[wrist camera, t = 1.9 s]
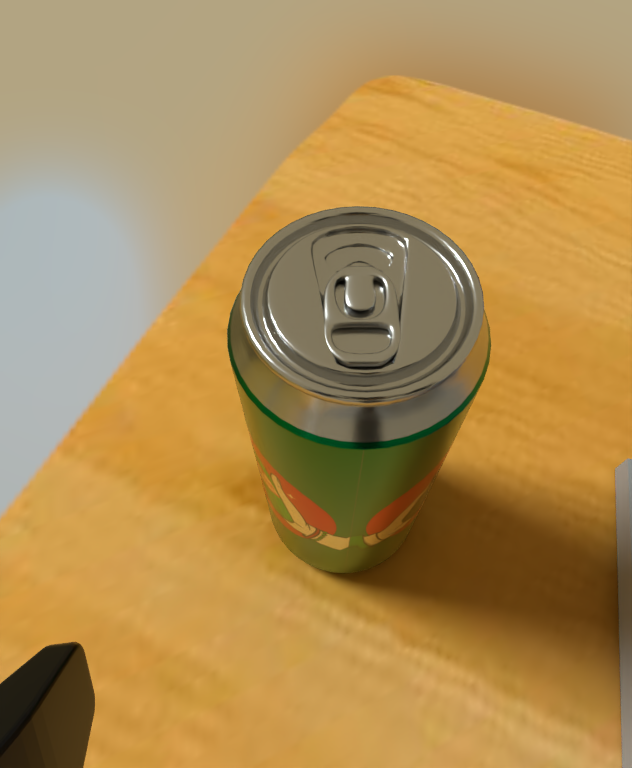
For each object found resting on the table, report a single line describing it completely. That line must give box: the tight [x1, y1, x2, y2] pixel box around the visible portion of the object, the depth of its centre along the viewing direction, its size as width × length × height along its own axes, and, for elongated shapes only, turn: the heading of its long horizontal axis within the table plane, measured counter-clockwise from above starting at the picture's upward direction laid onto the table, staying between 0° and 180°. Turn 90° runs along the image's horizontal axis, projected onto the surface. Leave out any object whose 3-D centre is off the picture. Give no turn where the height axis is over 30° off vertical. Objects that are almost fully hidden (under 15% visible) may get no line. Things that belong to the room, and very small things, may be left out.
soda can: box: [227, 206, 491, 573], centre depth 15 cm, size 5×5×12 cm
